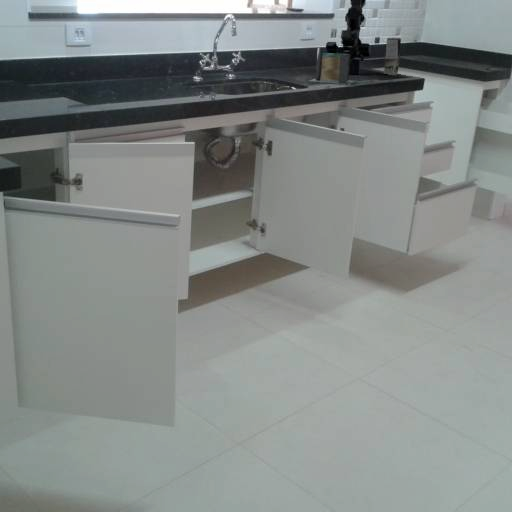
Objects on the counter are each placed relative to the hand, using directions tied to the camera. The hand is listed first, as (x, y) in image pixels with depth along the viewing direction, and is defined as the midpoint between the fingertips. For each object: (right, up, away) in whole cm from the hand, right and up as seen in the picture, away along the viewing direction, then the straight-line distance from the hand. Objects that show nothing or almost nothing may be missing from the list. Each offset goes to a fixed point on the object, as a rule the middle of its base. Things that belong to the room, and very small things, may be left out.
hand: (343, 64), depth 302 cm
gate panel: (-4, -6, +3) cm, 7 cm away
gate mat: (-4, -6, +5) cm, 9 cm away
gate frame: (-5, -7, +2) cm, 9 cm away
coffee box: (+26, +5, +35) cm, 44 cm away
